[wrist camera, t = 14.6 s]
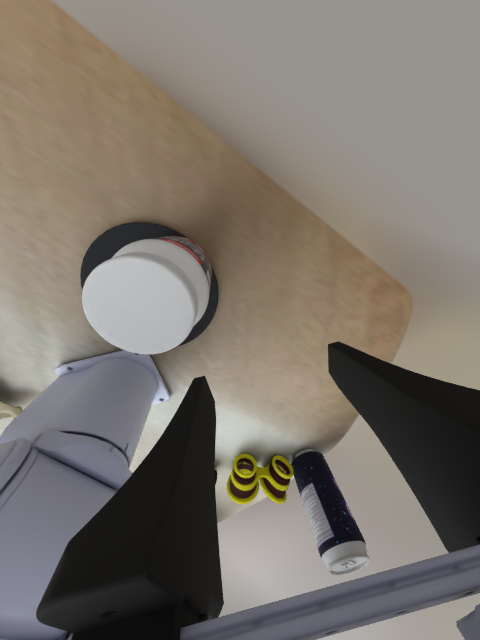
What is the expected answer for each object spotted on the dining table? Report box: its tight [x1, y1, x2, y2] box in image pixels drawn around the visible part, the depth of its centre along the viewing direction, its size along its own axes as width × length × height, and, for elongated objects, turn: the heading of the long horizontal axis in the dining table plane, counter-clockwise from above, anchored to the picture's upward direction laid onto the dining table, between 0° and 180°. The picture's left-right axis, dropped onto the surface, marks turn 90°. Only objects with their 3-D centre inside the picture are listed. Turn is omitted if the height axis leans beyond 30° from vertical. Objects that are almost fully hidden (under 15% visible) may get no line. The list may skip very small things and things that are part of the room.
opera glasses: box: [227, 454, 293, 504], centre depth 30 cm, size 10×5×5 cm, turn 74°
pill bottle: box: [82, 236, 212, 354], centre depth 13 cm, size 6×6×10 cm
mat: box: [81, 223, 218, 346], centre depth 18 cm, size 12×12×1 cm
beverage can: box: [291, 449, 370, 575], centre depth 28 cm, size 6×6×12 cm
